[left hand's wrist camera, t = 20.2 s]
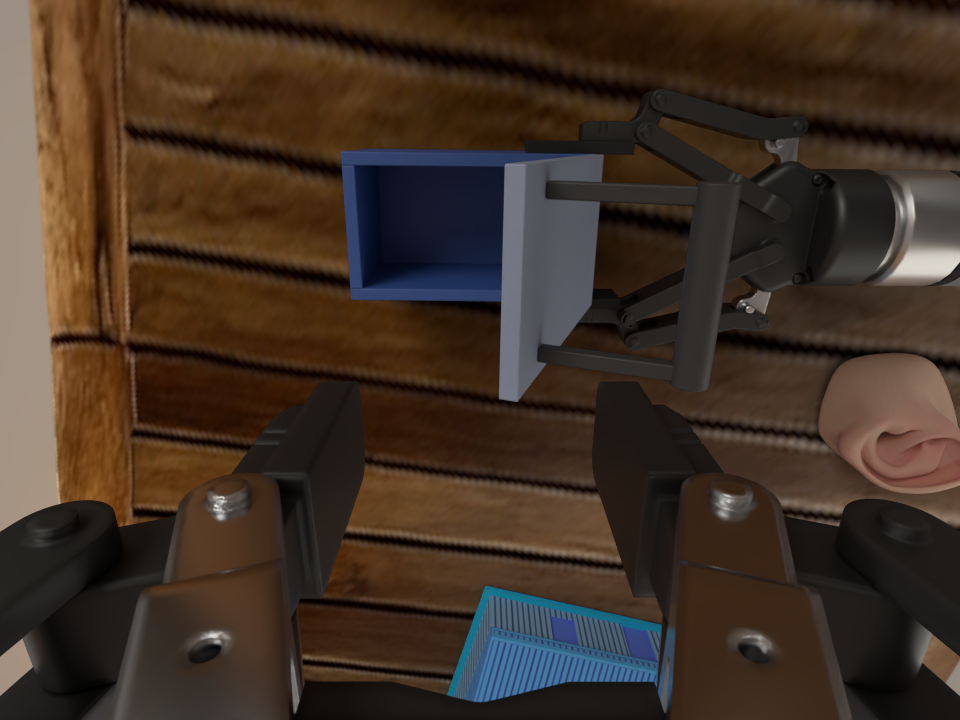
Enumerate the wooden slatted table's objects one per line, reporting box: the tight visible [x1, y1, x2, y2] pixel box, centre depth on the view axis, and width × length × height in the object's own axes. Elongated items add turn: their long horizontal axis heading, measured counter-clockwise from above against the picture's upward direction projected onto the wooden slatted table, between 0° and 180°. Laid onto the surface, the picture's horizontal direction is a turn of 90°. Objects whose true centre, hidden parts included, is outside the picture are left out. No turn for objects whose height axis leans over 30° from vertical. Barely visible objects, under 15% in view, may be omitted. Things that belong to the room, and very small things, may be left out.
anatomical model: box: [818, 353, 960, 494], centre depth 49 cm, size 13×4×12 cm
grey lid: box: [499, 154, 742, 402], centre depth 28 cm, size 16×9×8 cm
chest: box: [341, 149, 590, 301], centre depth 41 cm, size 15×9×9 cm, turn 89°
